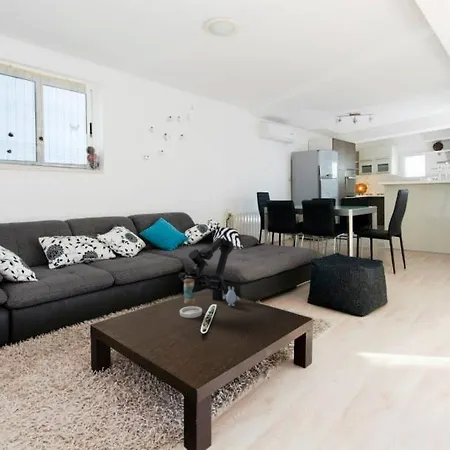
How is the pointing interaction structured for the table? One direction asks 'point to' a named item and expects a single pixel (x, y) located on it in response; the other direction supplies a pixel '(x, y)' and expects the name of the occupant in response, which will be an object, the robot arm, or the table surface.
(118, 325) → the table surface
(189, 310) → the ceramic dish
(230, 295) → the toy figure
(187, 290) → the disc
